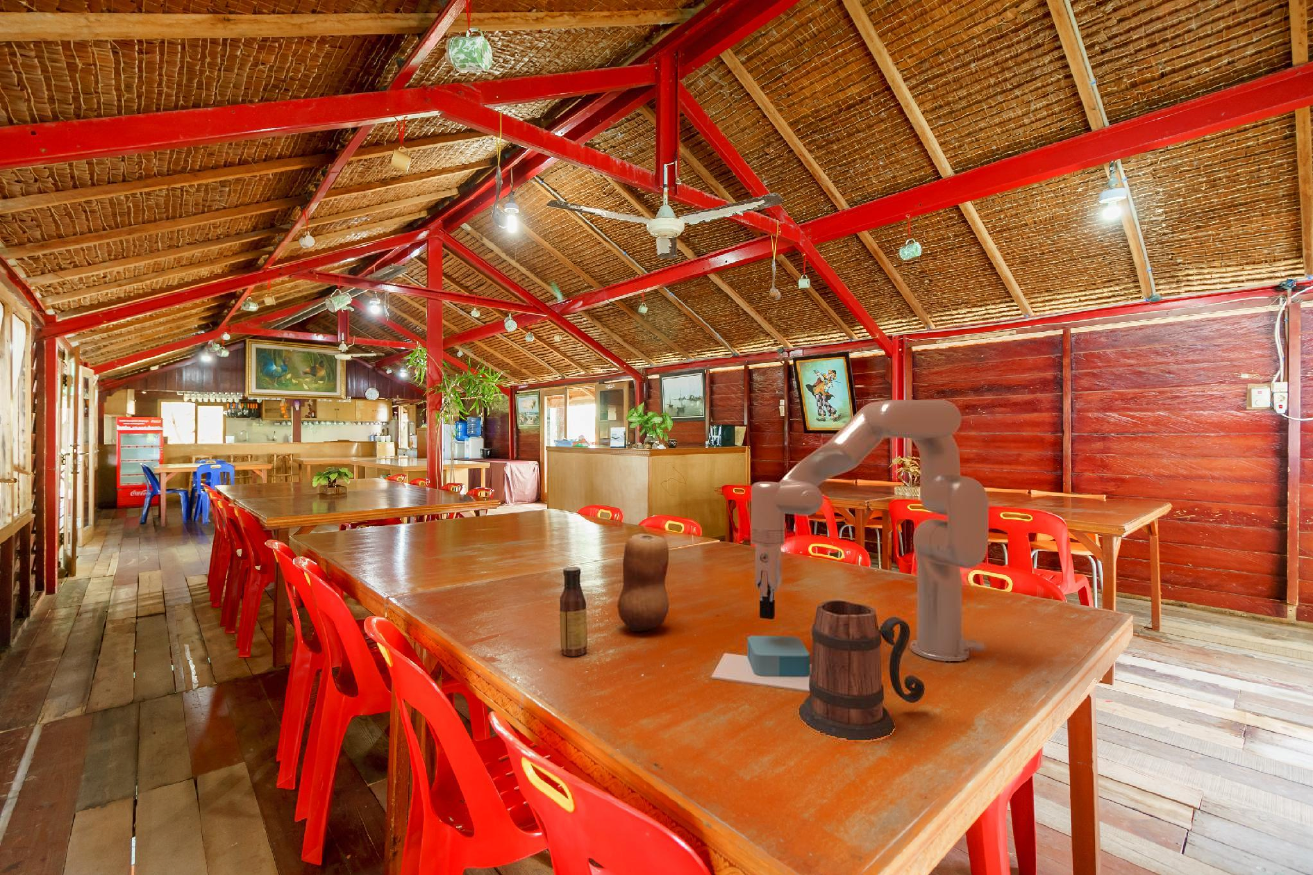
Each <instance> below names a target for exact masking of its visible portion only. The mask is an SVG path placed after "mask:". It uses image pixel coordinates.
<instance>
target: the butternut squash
mask: <svg viewBox="0 0 1313 875" xmlns="http://www.w3.org/2000/svg"><path fill="white" fill-rule="evenodd" d="M669 552H670V551H669V546H668V542H667V540H666V539H665V538H663V537H661V536H657V535H653V534H647V533H639V534H634V535H632V536H630V537H629V538H628V539H627V541H626V543H625V545H624V552H623V559H622V574H623V575H622V579H623V581H622V582H623V583H622V584H623V585H622V590H621V592H620V594H619V597H618V601H617V605H616V607H617V611H618V617H619V618H620V620H621V621H622V622H623V623H624V625H626V627H627V628H629V629H630V630H632V631H633V632H647V631H652V630H654V629H656V627H658V626H660V625H661V624H663V623H664V621H665V620H666V618H667V615H668V613H669V608H670V607H669V606H670V603H669V597H668V592H667V589H666V577H667V571H668V567H669V559H670V558H669V557H670V555H669Z"/></svg>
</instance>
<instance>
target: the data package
mask: <svg viewBox="0 0 1313 875" xmlns="http://www.w3.org/2000/svg"><path fill="white" fill-rule="evenodd" d="M746 644H747V648H746V650H747V652H746V653H747V655H746V656H748V659H749V662H750V664H751V667H752V669H753V672H754V673H755V674H756V675H759V676H808V675H809V674H810V664H811V653H810V651H809V650H808V648H806V646H805V644H804V643H803V642H802V640H801V639H800V637H797V636H792V635H790V636H789V635H750V636H748V637H747V643H746Z"/></svg>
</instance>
